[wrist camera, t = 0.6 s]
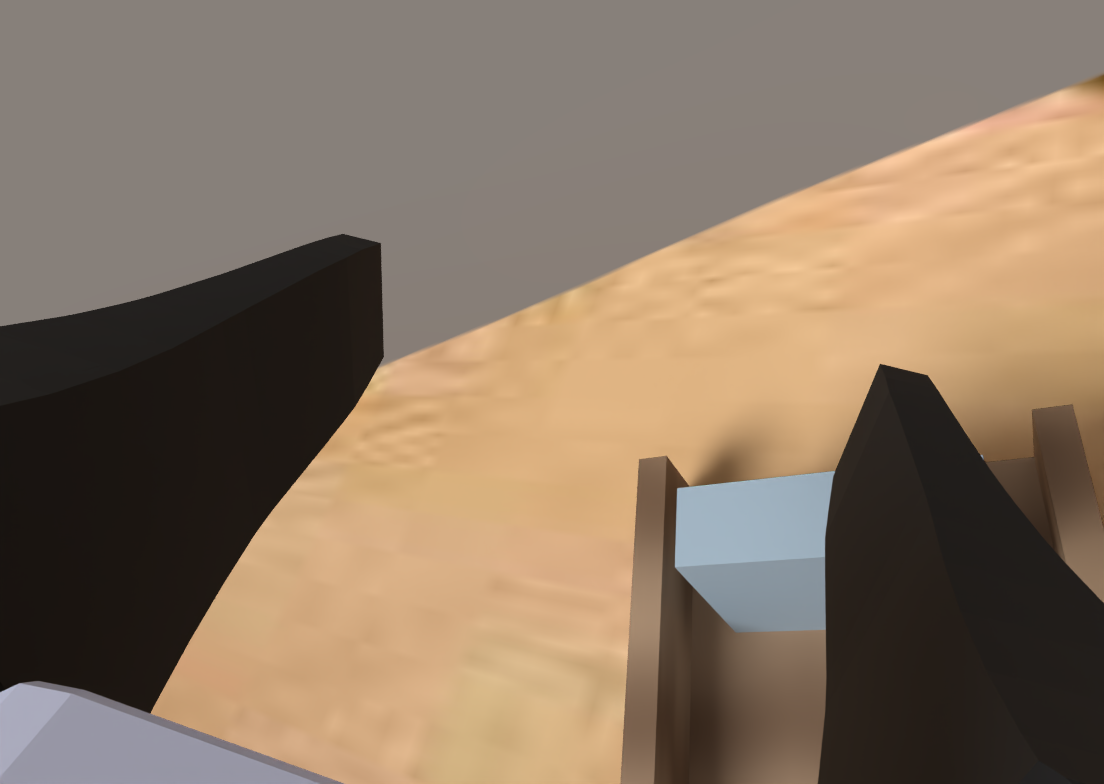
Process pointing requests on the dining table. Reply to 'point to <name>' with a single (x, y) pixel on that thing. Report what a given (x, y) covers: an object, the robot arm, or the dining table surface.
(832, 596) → the robot arm
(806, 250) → the dining table surface
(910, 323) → the dining table surface
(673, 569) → the rack
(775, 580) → the block
